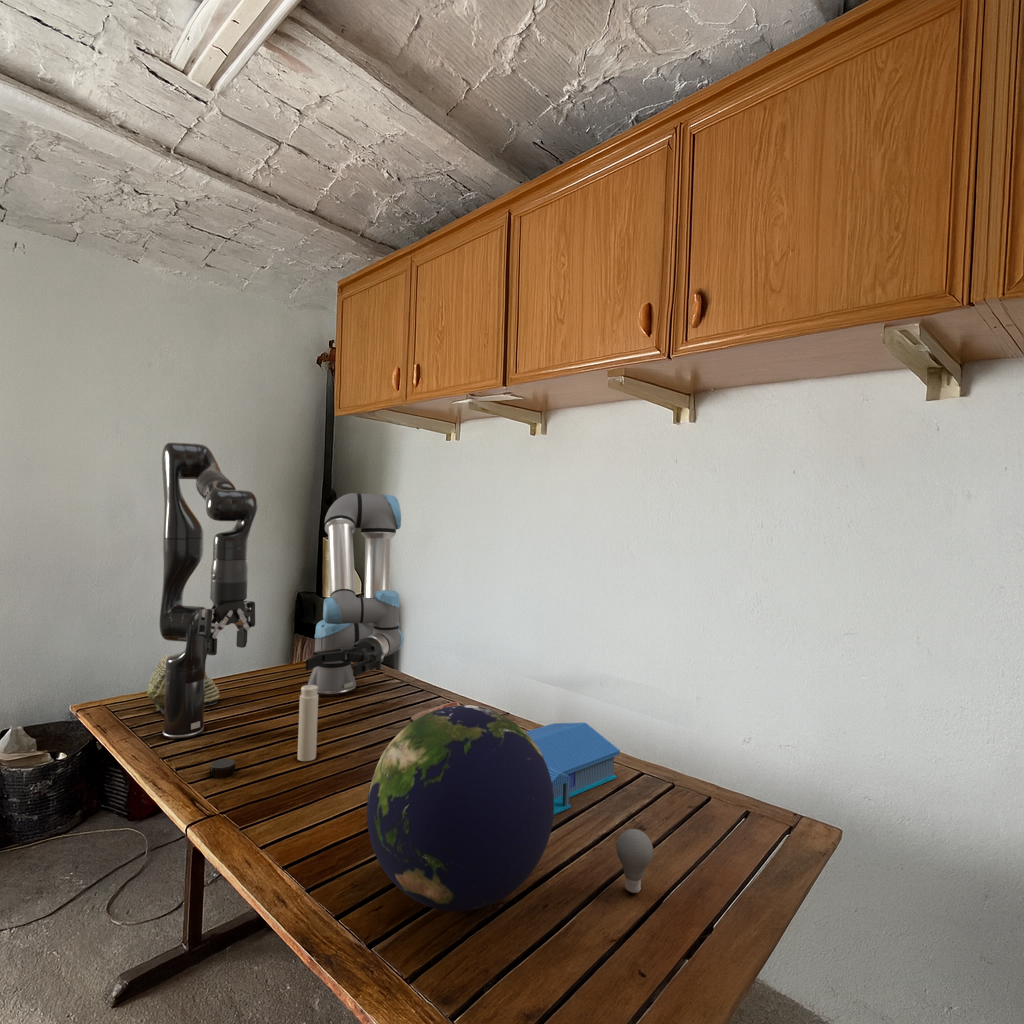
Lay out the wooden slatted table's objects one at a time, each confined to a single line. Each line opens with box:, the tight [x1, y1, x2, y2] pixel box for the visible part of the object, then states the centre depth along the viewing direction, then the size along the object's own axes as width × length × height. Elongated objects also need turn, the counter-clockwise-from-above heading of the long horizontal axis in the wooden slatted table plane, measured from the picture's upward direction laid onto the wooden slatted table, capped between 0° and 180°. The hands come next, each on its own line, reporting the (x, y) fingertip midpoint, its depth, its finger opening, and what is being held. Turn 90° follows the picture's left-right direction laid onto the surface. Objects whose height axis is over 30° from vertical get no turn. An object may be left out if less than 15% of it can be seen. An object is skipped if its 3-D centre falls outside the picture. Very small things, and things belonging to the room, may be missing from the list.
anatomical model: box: [410, 701, 461, 722], centre depth 184 cm, size 13×4×12 cm
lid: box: [208, 758, 236, 779], centre depth 143 cm, size 5×5×2 cm
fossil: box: [147, 654, 221, 712], centre depth 185 cm, size 9×18×15 cm, turn 132°
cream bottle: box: [296, 684, 320, 762], centre depth 153 cm, size 4×4×17 cm
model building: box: [525, 722, 621, 816], centre depth 143 cm, size 39×24×10 cm, turn 132°
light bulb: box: [615, 828, 654, 894], centre depth 106 cm, size 6×6×10 cm
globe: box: [366, 704, 555, 913], centre depth 102 cm, size 30×30×30 cm
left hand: (226, 650), depth 142 cm, fingers open, 8 cm apart
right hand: (330, 668), depth 161 cm, fingers open, 13 cm apart
